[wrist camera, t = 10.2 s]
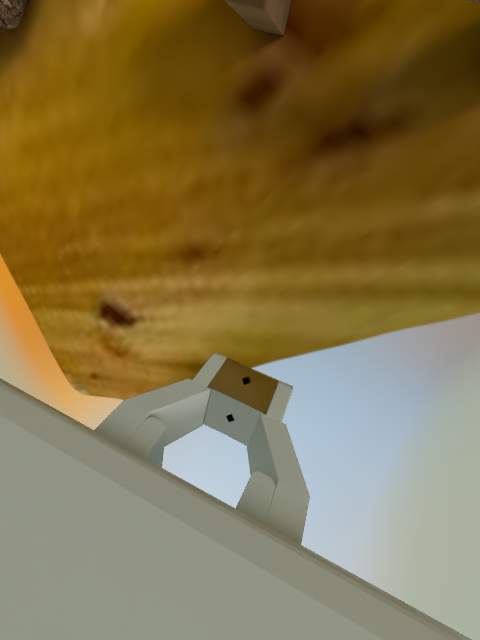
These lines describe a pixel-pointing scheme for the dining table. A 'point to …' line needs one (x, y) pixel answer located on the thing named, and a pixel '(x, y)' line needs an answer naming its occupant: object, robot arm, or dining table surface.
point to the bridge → (266, 13)
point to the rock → (11, 13)
